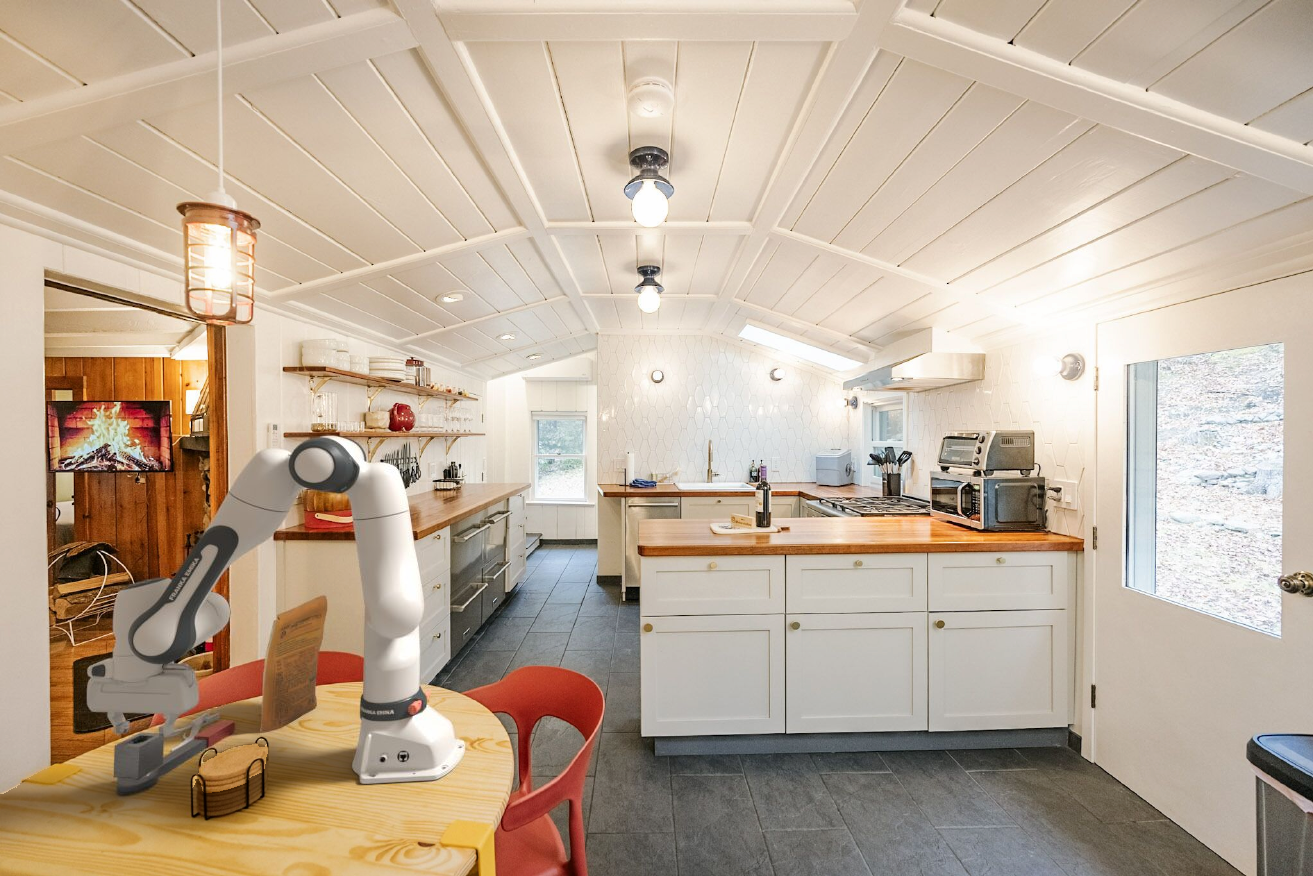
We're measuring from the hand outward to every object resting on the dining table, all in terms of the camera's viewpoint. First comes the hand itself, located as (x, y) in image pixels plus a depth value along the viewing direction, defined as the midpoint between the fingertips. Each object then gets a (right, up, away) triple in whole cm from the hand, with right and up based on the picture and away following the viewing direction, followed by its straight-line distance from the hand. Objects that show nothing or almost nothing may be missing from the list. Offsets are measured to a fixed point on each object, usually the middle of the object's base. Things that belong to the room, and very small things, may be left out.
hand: (144, 733), depth 109 cm
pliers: (-8, -11, +19) cm, 24 cm away
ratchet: (0, -10, +8) cm, 13 cm away
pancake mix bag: (+11, -11, +28) cm, 32 cm away
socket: (-1, -7, 0) cm, 7 cm away
